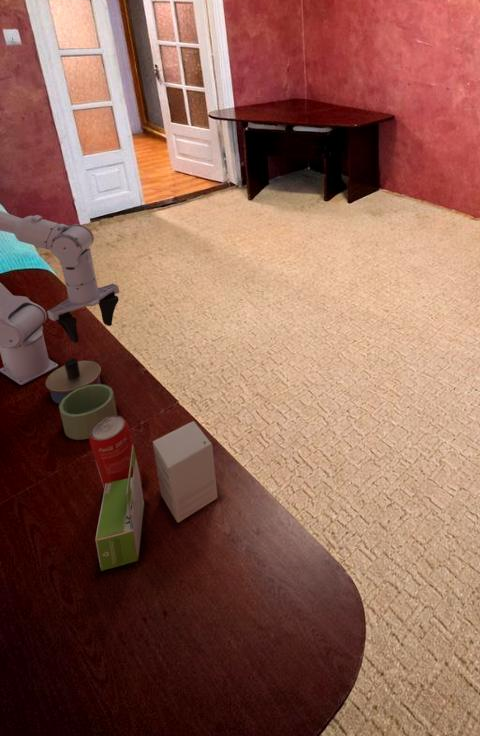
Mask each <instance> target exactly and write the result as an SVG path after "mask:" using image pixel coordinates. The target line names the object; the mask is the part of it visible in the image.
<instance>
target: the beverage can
mask: <svg viewBox="0 0 480 736" xmlns="http://www.w3.org/2000/svg"><path fill="white" fill-rule="evenodd" d="M88 441H89V444H90V448H91V451H92V454H93V458H94V461H95V464H96V467H97V471H98V475H99V477H100V479H101V483H102V486H103V490H104V489H105V484H106V483H110V482H115V481H119V480H123V479H128V476H129V468H130V461H131V453H132V444H133V447H134V452H135V456H136V461H137V465H138V470H139V474H140V481H141V485H142V484H143V477H142V473H141V469H140V464H139V461H138V457H137V453H136V449H135V445H134V441H133V438H132V434H131V429H130V426H129V423H128V422H127V421H126V420H125V419H124V417H123V416H120V415H117V416H109V417H106V418H103V419H101V420H100V421H98V422H97V423H96V424H95V425H94V426H93V427H92V429H91V431H90V437H89V438H88ZM132 477H133V465H132V469H131V478H132Z"/></svg>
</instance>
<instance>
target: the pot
mask: <svg viewBox="0 0 480 736" xmlns="http://www.w3.org/2000/svg"><path fill="white" fill-rule="evenodd" d="M58 409H59V413H60V419H61V422H62V423H61V424H62V426H63V427H62V428H63V432H64V434H65V436H66V437H68V438H69V439H72V440H78V441H79V440H81V441H83V440H89V437H90V431H91V429H92V427H93V426H94V425H95V424H96V423H97V422H98V421H100V420H101V419H103V418H106V417H109V416H118V411H117V410H118V409H117V406H116V401H115V394H114V391H113V389H112V387H110V386H109V385H107V384H102V383H101V384H93V385H87V386H84V387H81V388H78V389H76V390H75V391H73V392H71V393H69V394H68V395H67V396H66V397H65V398H64V399H63V400H62V401H61V403H60V404H58Z"/></svg>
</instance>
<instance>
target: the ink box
mask: <svg viewBox="0 0 480 736" xmlns="http://www.w3.org/2000/svg"><path fill="white" fill-rule="evenodd" d="M133 445H134V443H133V444H132V453H131V461H130V468H129V476H128V479H123V480H119V481H115V482H110V483H106V484H105V489H104V488H103V496H102V501H101V506H100V511H99V517H98V522H97V528H96V534H95V545H96V550H97V557H98V563H99V567H100V571H101V572H103V571H106V570H110V569H113V568H118V567H121V566H125V565H128V564H132V563H136V562H138V561H139V559H140V549H141V539H142V530H143V521H144V512H145V501H144V494H143V488H142V484H141V481H140V474H139V470H138V465H137V461H136V456H137V455H136V456H135V453H136V451H135V452H134V449H135V446H134V447H133ZM132 465H133V477H132V478H131V469H132Z"/></svg>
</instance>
